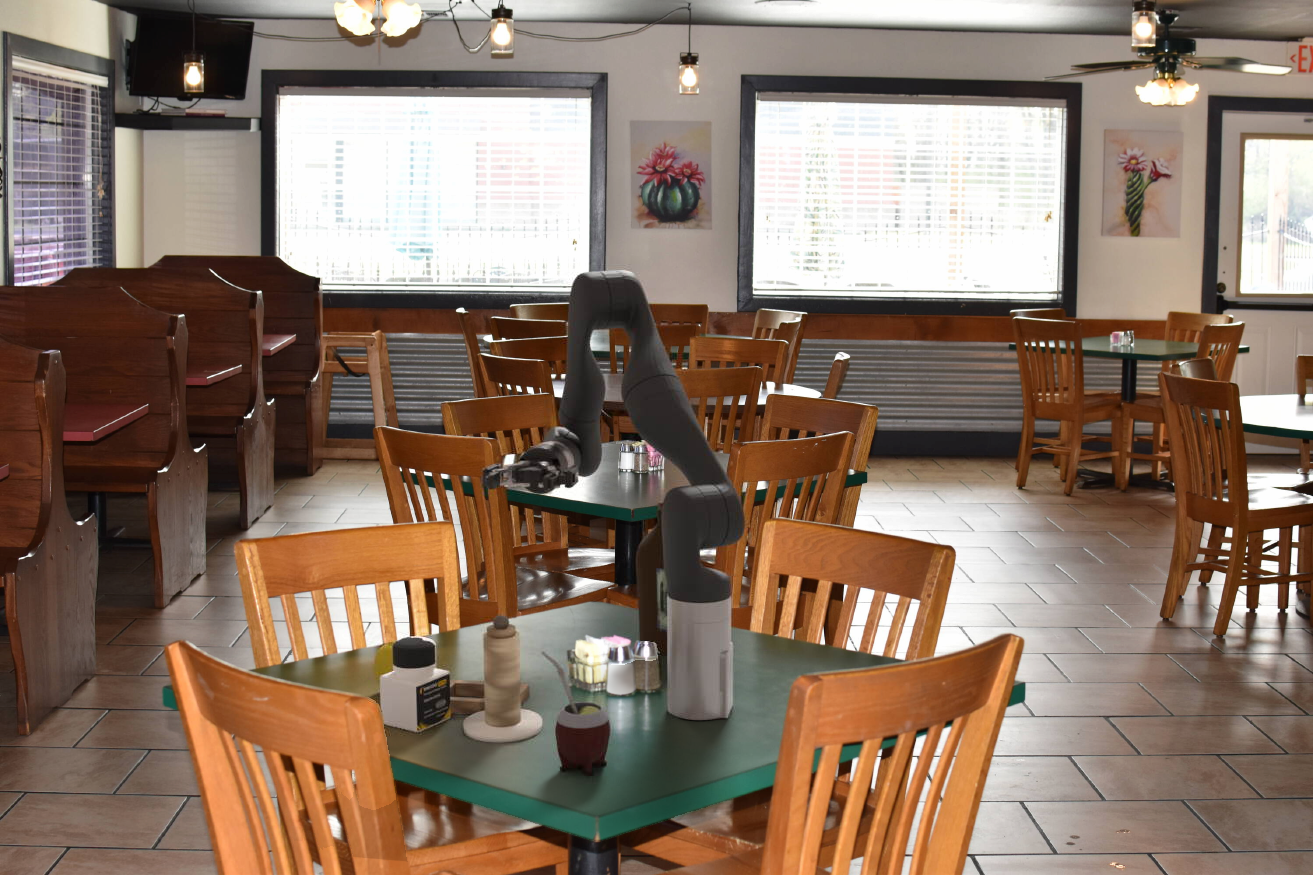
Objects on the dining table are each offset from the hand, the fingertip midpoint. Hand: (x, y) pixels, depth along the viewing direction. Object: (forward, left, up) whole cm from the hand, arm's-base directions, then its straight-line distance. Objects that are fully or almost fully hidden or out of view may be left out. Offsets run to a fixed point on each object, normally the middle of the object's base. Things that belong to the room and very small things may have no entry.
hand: (517, 483), depth 197 cm
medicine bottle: (+11, +16, -32) cm, 37 cm away
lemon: (+19, +4, -32) cm, 38 cm away
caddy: (+5, +7, -32) cm, 33 cm away
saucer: (-2, +16, -32) cm, 36 cm away
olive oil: (-18, -26, -32) cm, 45 cm away
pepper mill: (-2, +16, -31) cm, 35 cm away
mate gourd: (-16, +28, -32) cm, 46 cm away
